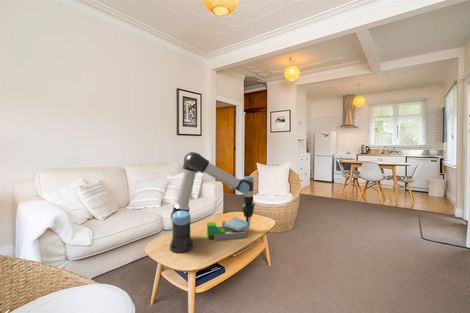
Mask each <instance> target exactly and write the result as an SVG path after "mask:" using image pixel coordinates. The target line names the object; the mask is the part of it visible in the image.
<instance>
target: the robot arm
mask: <svg viewBox="0 0 470 313" xmlns="http://www.w3.org/2000/svg"><path fill="white" fill-rule="evenodd" d="M182 170H183V174H182V179H181V184H180V187H179V192H178V197H177V201H176V204H174V205H173V209H172V211H171V213H170V220H171V224H172V226H171V227H172V228H171V230H172V238H171V241H170V244H169V251H171V252H173V253H177V254H178V253H186V252H190V251H191V250H192V249H193V247H194V242H193V239H192V237H191V220H192V218H191V214H190V209H191V208H190V206H189V204H190V201H191V196H192V192H193V188H194V182H195V179H196V175H197V174H198V173H201V174H206V175H208V176H210V177H212V178H214V179H215V180H217V181H219V182H221V183H223V184H225V185H227V186H228V187H229V189H230V190H233V191H234V190H236V191H238V192H240V193H241V194H243V205H241V208H242V212H243V216H244V218H245V221H247V222H249V225H250V226H251V220H252V219H251V218H252V216H254V209H255V205H256V203H254V177H253V176H250V175H249V176H248V175H247V176H244V177H243V179H239V178H237V177H235V176H234V175H232V174H230V173H229V172H226V171H225V170H223V169H221V168H220V167H217V166H215V165H214V164H212V163H211V162H210V161H209V160H208V159H206V158H205V157H203V156H202V155H201V154H200V153H198V152H196V151H191V152H188V153H186V154H185V155H184V158H183V165H182Z"/></svg>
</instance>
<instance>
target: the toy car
mask: <svg viewBox="0 0 470 313" xmlns="http://www.w3.org/2000/svg"><path fill="white" fill-rule="evenodd" d="M217 227H218V226H217V223H216V222H215V221H211V222H206V235H207V239H209V240H214V234H224V233H227V231H225V230H224V229H223V228H217Z"/></svg>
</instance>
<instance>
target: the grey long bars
mask: <svg viewBox="0 0 470 313" xmlns="http://www.w3.org/2000/svg"><path fill="white" fill-rule="evenodd" d="M217 228H223V229H224V230H225V232H226V233H224V234H214V238H213V241H221V240H224V241H225V240H236V239H245V238H247V232H246V231H238V230H235V229H232V228H230V227H227V226H222V225H221V226H217ZM236 231H237V232H236ZM227 232H228V233H227Z"/></svg>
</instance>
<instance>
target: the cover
mask: <svg viewBox="0 0 470 313" xmlns="http://www.w3.org/2000/svg"><path fill="white" fill-rule="evenodd" d="M221 226H227V227H230V228H232V229H235V230H238V231H237V232H242V231H244V230H245V229H248V228H250V227H251V224H250V225H249V222H247V221H246V220H244V219H241V218H237V217H232V219H231V220H228V221H225V220H222V222H221Z"/></svg>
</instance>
